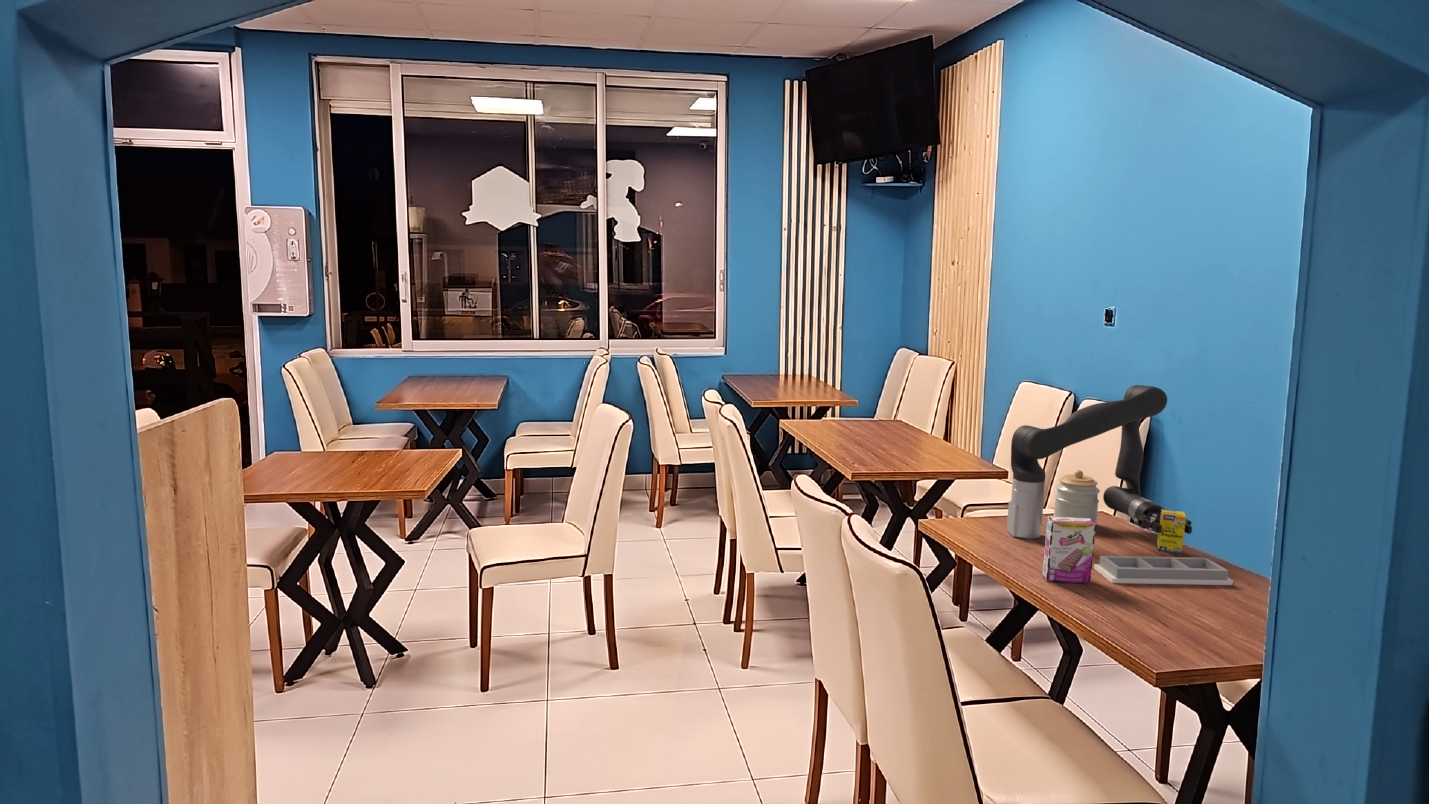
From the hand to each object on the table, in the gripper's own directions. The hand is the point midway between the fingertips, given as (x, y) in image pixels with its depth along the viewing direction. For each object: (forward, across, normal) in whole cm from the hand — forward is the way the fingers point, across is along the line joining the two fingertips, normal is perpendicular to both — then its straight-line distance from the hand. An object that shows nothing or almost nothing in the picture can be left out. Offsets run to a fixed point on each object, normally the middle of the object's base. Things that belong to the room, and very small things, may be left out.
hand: (1175, 529), depth 247 cm
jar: (-36, -12, +10) cm, 39 cm away
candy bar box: (+16, -36, +10) cm, 40 cm away
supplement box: (-2, 0, +7) cm, 7 cm away
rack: (+12, -9, +9) cm, 18 cm away
